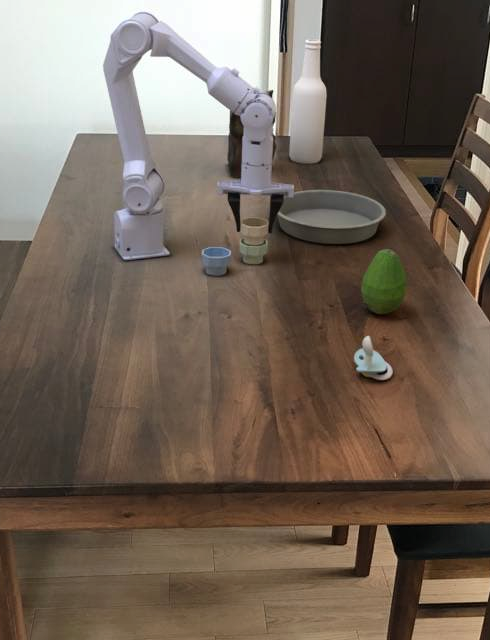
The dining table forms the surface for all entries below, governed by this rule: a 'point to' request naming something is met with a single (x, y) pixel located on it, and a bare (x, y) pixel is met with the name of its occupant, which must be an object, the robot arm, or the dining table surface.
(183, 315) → the dining table surface
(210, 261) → the blue bowl
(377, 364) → the pacifier
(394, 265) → the avocado
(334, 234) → the cake pan
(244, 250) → the celadon bowl
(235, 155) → the owl
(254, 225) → the ivory bowl
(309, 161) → the alcohol
